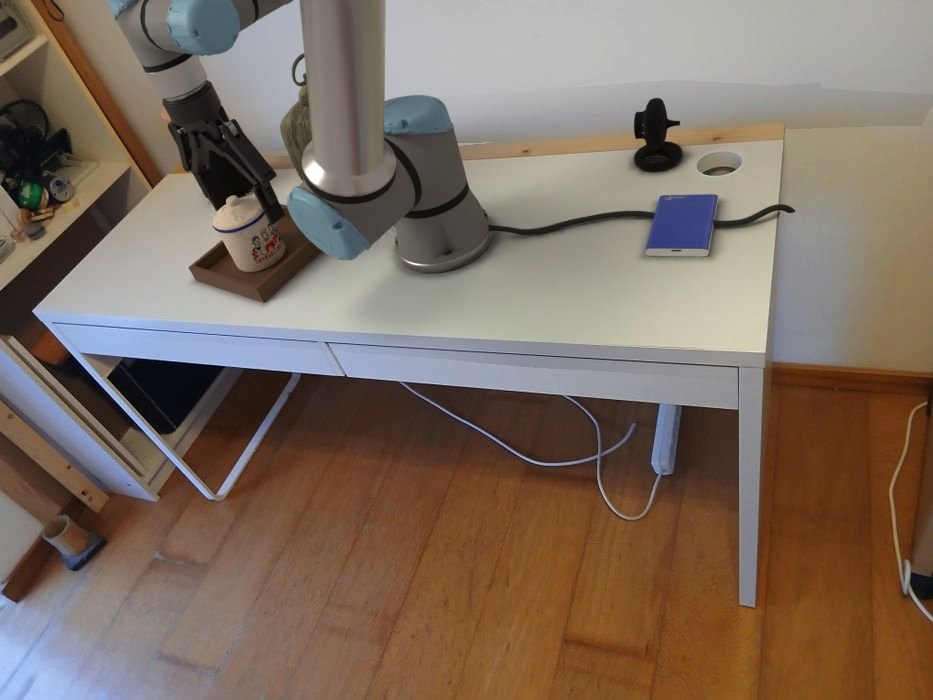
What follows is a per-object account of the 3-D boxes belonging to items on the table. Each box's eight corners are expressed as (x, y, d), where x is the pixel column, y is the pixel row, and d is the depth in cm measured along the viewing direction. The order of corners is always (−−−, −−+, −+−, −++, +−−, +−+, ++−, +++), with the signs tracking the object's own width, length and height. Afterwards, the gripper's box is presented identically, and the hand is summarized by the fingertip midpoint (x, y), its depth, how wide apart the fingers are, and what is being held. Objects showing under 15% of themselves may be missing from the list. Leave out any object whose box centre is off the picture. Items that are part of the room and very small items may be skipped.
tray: (344, 230, 128) (338, 216, 126) (264, 303, 118) (256, 289, 116) (275, 214, 138) (269, 201, 136) (195, 280, 128) (187, 267, 126)
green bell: (355, 213, 131) (299, 76, 115) (311, 214, 135) (251, 81, 118) (386, 167, 141) (339, 34, 124) (344, 169, 144) (293, 40, 127)
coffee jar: (267, 172, 151) (227, 87, 139) (242, 203, 144) (197, 116, 132) (223, 175, 155) (180, 92, 143) (196, 205, 148) (149, 121, 136)
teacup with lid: (266, 277, 122) (234, 217, 115) (225, 271, 127) (192, 213, 119) (307, 232, 129) (280, 173, 121) (268, 228, 134) (239, 170, 126)
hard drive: (659, 194, 111) (645, 247, 103) (717, 193, 108) (708, 247, 100) (659, 203, 112) (646, 256, 104) (718, 202, 109) (708, 256, 101)
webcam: (638, 147, 125) (633, 90, 118) (685, 145, 122) (682, 86, 115) (630, 173, 120) (623, 115, 113) (678, 172, 117) (675, 112, 110)
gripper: (259, 79, 103) (318, 210, 117) (155, 74, 117) (219, 191, 131) (219, 107, 99) (285, 239, 113) (117, 97, 113) (187, 216, 127)
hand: (250, 213), depth 122 cm, fingers open, 13 cm apart
